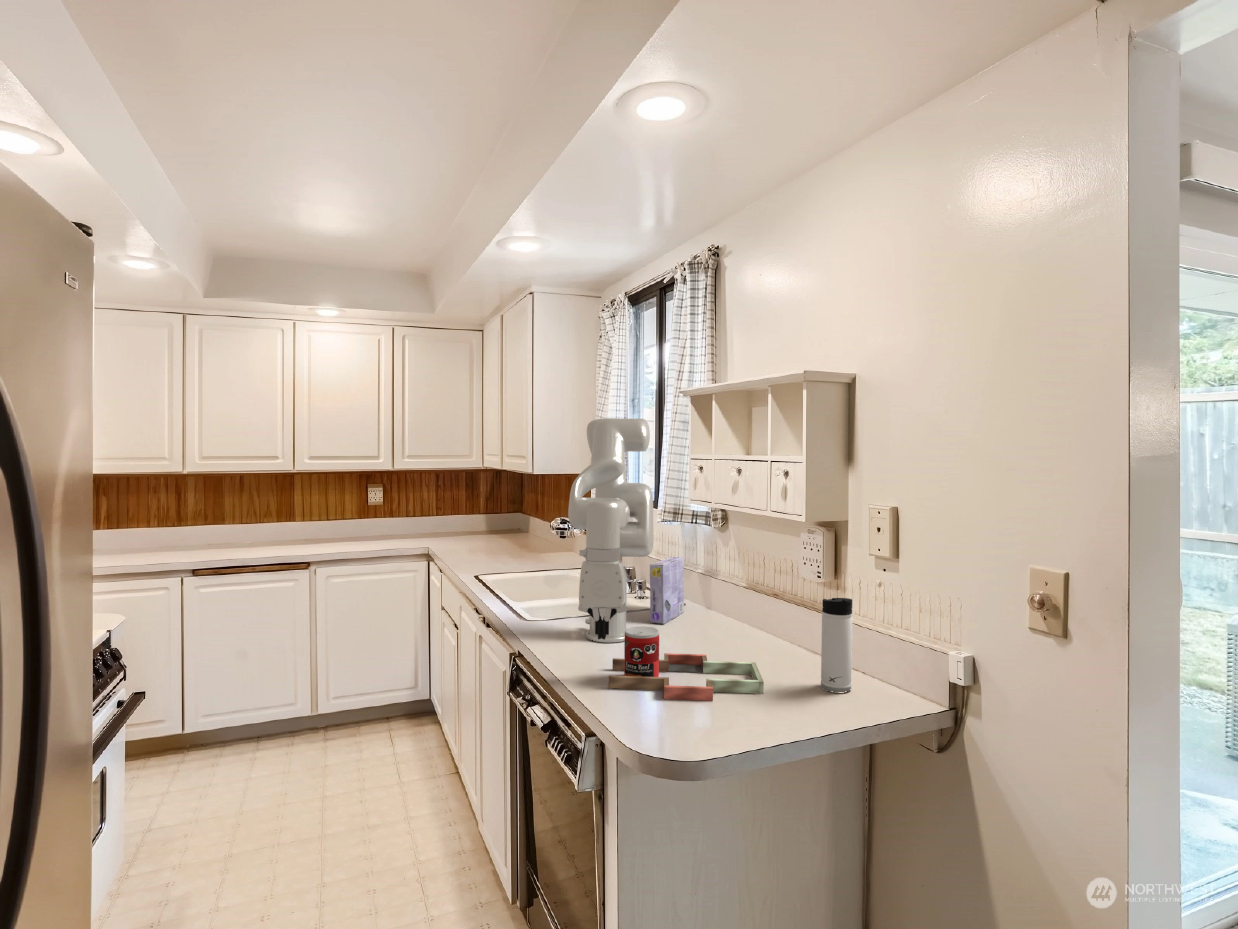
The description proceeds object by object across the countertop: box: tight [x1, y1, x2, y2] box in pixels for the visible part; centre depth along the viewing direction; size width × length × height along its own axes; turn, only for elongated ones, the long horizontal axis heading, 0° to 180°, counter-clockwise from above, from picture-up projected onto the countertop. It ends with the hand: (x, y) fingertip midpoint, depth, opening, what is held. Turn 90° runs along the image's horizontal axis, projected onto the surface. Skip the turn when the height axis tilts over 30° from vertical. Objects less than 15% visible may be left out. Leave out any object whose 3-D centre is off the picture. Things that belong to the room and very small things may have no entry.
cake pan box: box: [649, 556, 685, 625], centre depth 207 cm, size 19×5×18 cm, turn 155°
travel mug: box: [820, 597, 853, 692], centre depth 146 cm, size 6×7×20 cm
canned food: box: [623, 625, 660, 677], centre depth 151 cm, size 8×8×11 cm
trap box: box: [607, 652, 765, 702], centre depth 151 cm, size 33×23×2 cm
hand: (602, 637), depth 151 cm, fingers closed
